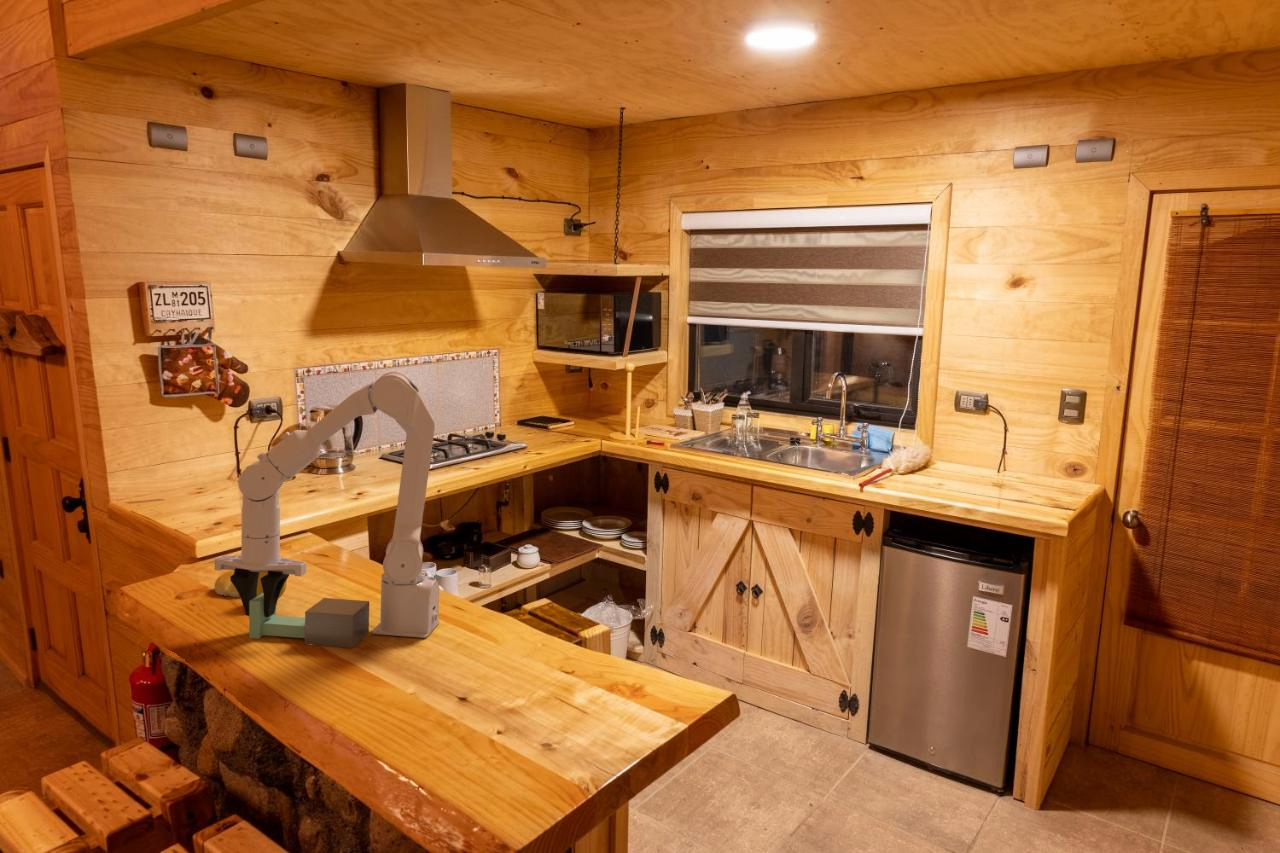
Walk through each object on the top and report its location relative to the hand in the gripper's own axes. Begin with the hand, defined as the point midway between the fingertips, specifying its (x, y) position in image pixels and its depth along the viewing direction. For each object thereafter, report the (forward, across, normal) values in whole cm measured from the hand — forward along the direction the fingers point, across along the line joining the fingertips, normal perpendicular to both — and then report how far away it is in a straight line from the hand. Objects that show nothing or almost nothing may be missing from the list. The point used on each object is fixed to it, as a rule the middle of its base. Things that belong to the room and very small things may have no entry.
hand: (260, 614), depth 135 cm
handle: (+3, -6, 0) cm, 6 cm away
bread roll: (+4, +14, -20) cm, 24 cm away
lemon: (+3, +5, -14) cm, 15 cm away
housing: (+3, -13, 0) cm, 13 cm away
